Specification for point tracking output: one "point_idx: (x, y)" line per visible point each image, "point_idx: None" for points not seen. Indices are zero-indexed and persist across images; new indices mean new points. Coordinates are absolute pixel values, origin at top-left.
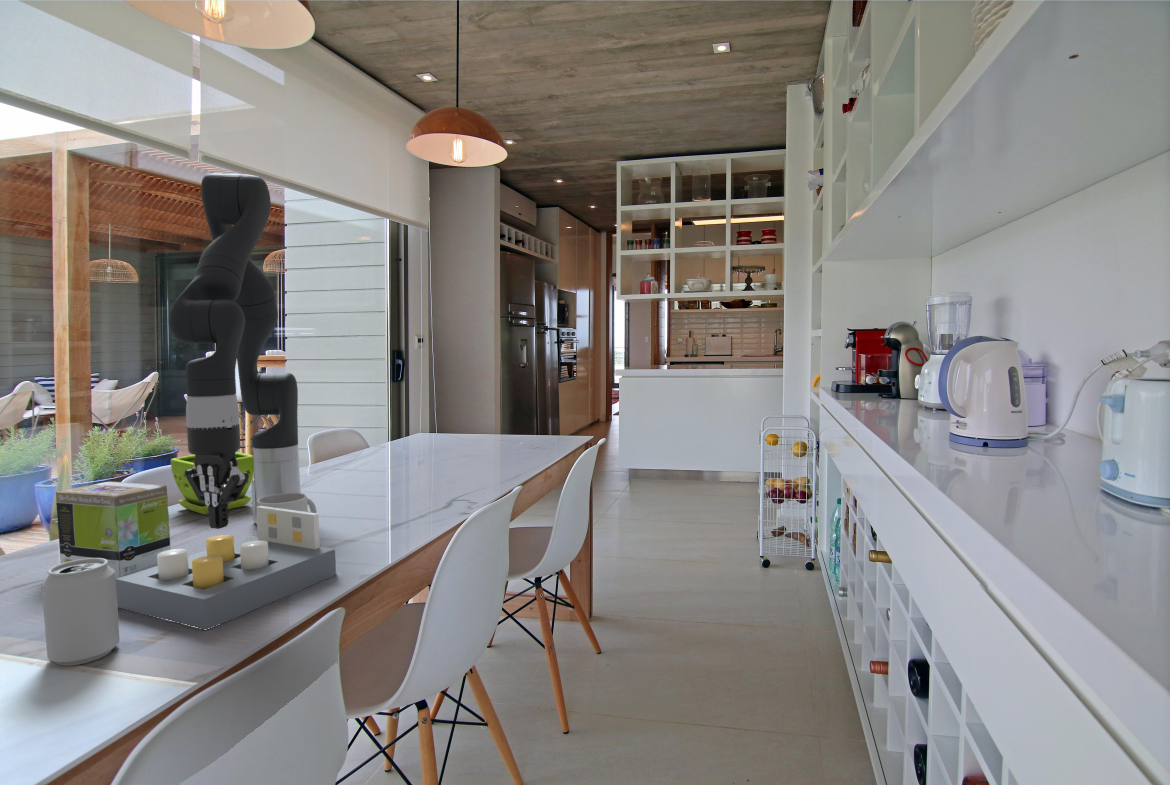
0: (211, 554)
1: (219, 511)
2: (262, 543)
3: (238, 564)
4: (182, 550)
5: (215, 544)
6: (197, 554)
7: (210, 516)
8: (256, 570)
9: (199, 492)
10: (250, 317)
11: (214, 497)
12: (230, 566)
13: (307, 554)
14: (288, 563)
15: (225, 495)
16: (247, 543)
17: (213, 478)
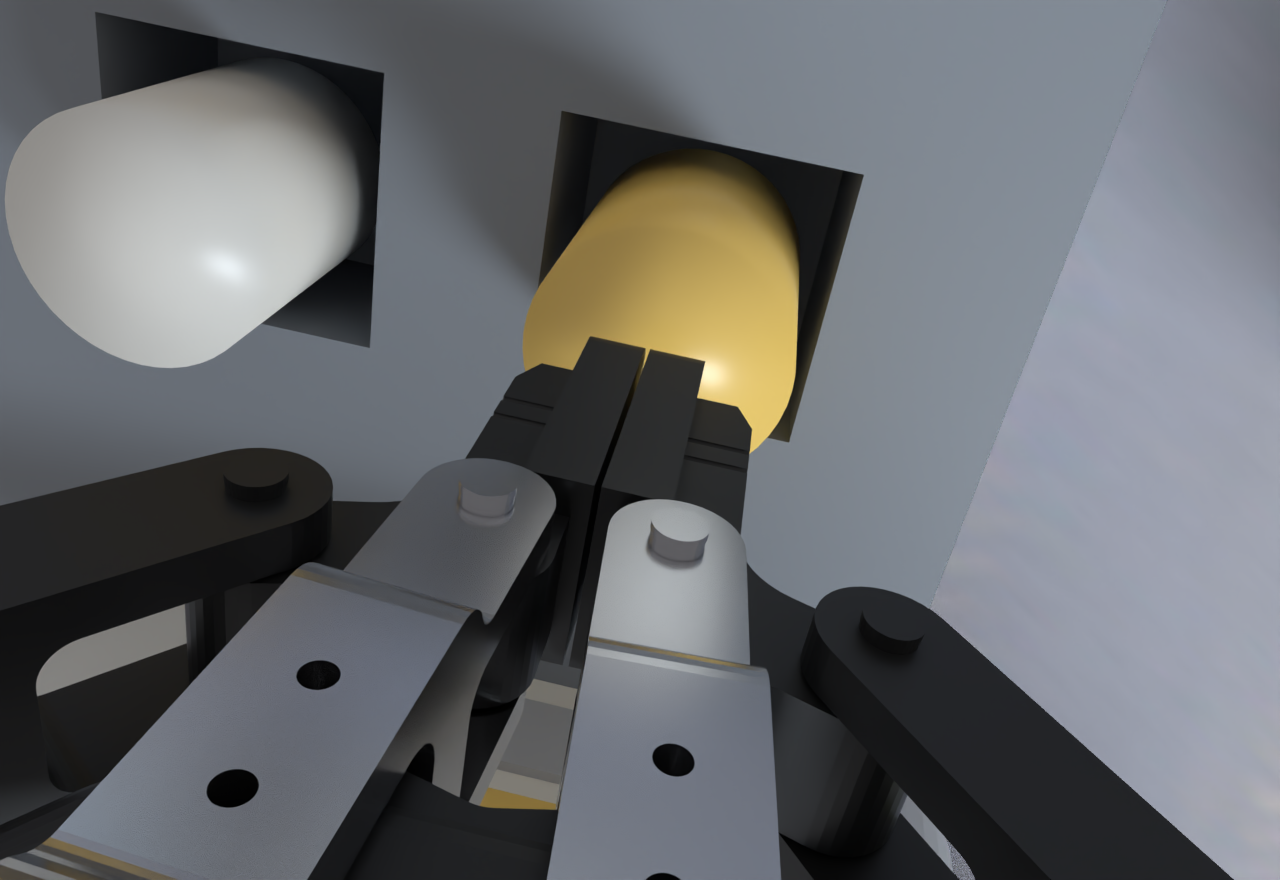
0: (672, 191)
1: (481, 454)
2: (80, 285)
3: (381, 162)
4: None
5: (604, 228)
6: (996, 334)
7: (662, 415)
8: (84, 45)
9: (906, 708)
10: None
11: (442, 554)
12: (399, 92)
13: (64, 472)
14: (5, 262)
15: (81, 520)
16: (221, 258)
17: (98, 816)
